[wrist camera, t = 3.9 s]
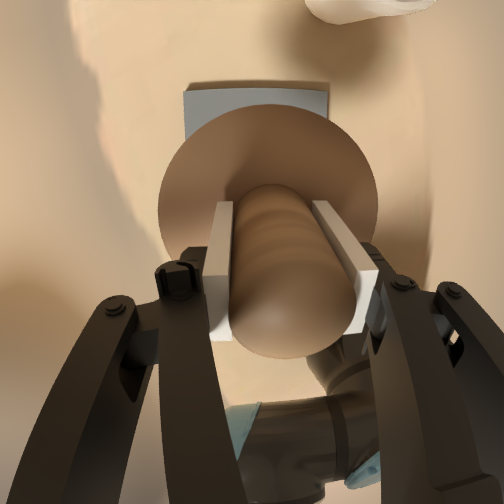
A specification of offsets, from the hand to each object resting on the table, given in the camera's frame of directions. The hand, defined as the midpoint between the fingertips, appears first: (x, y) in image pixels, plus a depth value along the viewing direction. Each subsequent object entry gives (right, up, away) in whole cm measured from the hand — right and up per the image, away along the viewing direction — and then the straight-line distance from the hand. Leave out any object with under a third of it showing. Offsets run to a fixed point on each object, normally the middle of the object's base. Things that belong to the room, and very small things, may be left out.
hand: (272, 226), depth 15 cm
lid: (0, +1, +2) cm, 2 cm away
